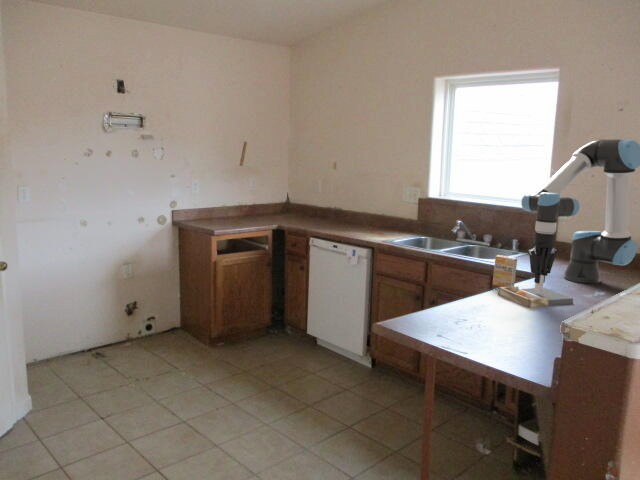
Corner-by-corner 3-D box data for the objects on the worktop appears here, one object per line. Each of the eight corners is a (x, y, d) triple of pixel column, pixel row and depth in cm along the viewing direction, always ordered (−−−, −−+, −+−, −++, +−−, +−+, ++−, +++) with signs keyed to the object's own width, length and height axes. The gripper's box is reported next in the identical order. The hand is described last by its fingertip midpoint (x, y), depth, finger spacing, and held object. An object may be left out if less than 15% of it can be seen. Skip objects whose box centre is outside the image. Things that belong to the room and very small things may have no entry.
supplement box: (491, 285, 229) (494, 256, 227) (495, 283, 233) (498, 254, 231) (510, 289, 224) (514, 259, 222) (514, 287, 228) (517, 257, 226)
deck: (543, 292, 221) (544, 287, 221) (572, 303, 206) (573, 298, 206) (517, 293, 217) (518, 289, 216) (545, 305, 202) (546, 300, 202)
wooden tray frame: (516, 293, 218) (517, 286, 217) (547, 306, 201) (548, 298, 200) (498, 294, 215) (498, 287, 214) (528, 307, 198) (529, 299, 198)
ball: (523, 294, 210) (519, 287, 209) (530, 297, 206) (526, 290, 205) (515, 300, 209) (511, 293, 208) (522, 303, 206) (518, 296, 204)
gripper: (551, 230, 211) (544, 287, 215) (524, 231, 207) (518, 289, 211) (565, 233, 204) (558, 292, 208) (538, 234, 200) (531, 294, 204)
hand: (538, 290), depth 210 cm, fingers closed
